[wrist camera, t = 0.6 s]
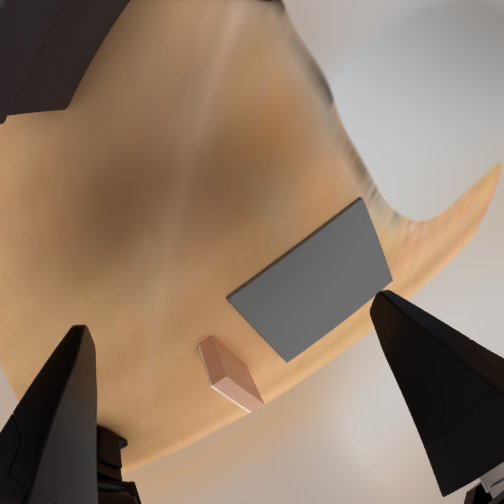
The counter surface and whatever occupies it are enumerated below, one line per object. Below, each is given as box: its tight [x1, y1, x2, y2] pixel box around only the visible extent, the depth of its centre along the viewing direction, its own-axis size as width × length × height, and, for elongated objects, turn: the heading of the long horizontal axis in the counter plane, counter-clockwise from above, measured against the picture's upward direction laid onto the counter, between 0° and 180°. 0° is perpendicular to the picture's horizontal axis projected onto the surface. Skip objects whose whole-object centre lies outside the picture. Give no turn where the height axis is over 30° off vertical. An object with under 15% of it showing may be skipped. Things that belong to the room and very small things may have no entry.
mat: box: [226, 197, 393, 362], centre depth 29 cm, size 14×11×1 cm
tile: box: [198, 336, 264, 413], centre depth 27 cm, size 2×6×5 cm, turn 33°
